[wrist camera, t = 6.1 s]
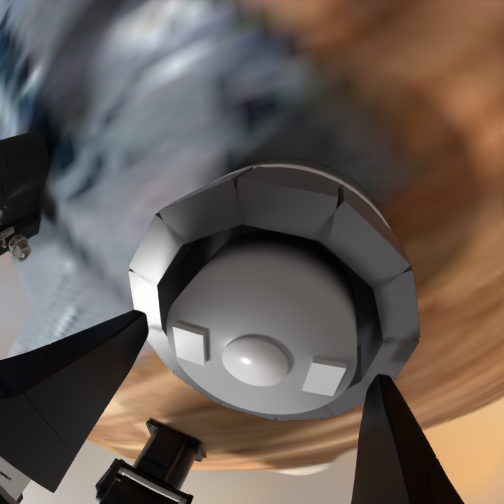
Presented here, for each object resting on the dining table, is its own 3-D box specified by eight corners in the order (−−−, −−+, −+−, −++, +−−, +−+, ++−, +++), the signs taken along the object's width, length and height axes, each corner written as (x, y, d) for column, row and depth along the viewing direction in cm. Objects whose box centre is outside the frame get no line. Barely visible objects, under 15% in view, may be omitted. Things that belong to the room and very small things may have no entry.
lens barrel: (356, 361, 15) (353, 435, 10) (190, 319, 17) (148, 378, 12) (422, 187, 10) (471, 231, 6) (192, 143, 12) (119, 162, 8)
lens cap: (332, 370, 12) (325, 430, 9) (204, 339, 13) (173, 390, 10) (374, 249, 9) (388, 306, 6) (202, 217, 10) (153, 256, 7)
